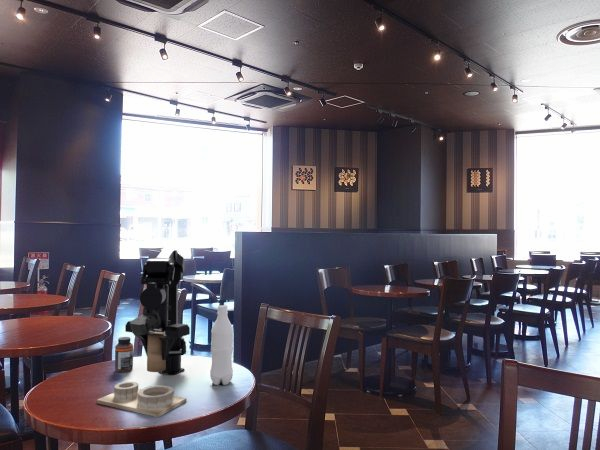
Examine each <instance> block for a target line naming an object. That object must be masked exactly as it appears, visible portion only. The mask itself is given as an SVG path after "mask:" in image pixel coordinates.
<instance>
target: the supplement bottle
mask: <svg viewBox="0 0 600 450" xmlns="http://www.w3.org/2000/svg"><path fill="white" fill-rule="evenodd" d="M114 349H115V350H114V370H115V371H116V372H117V373H127V372H130V371H132V370H133V368H134V367H133V366H134V344H133V343H132V342H131V337H130V336H122V337H121V336H120V337H118V340H117V344H116V345H115V346H114Z"/></svg>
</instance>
